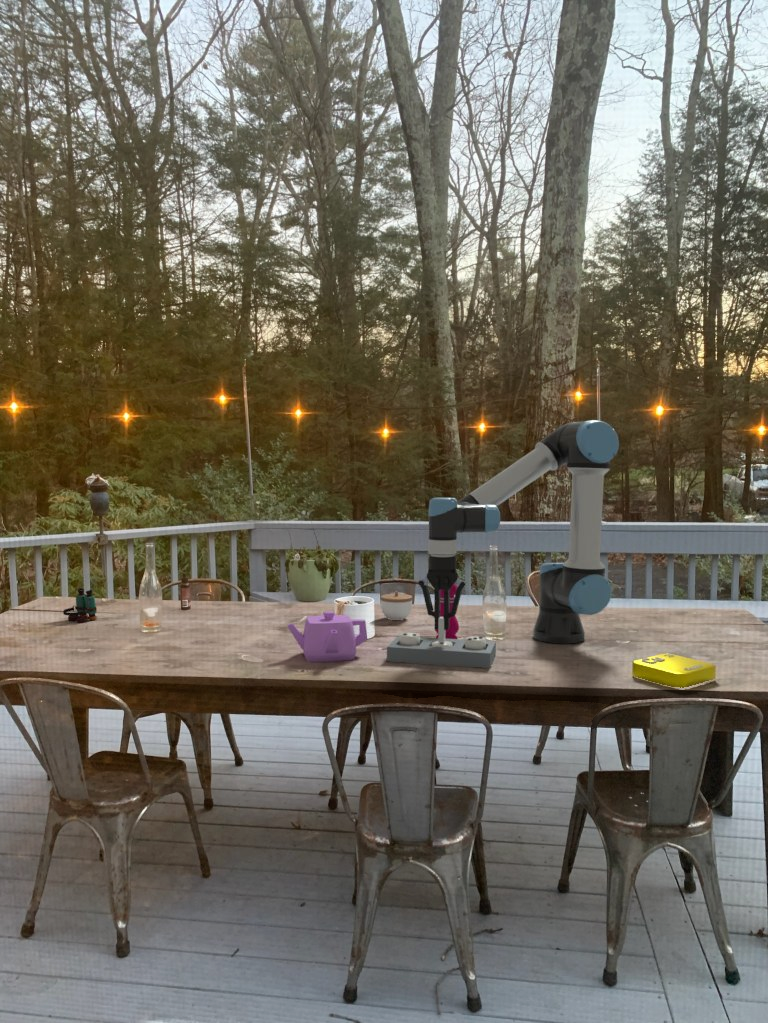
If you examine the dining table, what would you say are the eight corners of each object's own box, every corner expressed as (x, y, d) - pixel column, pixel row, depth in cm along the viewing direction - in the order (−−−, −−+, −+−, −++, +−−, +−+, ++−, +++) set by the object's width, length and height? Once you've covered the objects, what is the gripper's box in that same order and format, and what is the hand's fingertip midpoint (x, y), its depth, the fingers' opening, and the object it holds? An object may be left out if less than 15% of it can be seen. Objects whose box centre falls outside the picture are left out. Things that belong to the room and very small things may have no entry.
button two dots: (421, 645, 211) (421, 632, 211) (417, 650, 206) (417, 636, 205) (402, 644, 212) (402, 631, 212) (397, 649, 207) (397, 635, 207)
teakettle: (371, 653, 213) (371, 610, 212) (334, 667, 199) (333, 620, 198) (323, 645, 222) (323, 603, 221) (285, 658, 208) (284, 613, 207)
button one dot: (453, 654, 209) (454, 640, 209) (450, 659, 204) (450, 645, 203) (433, 652, 210) (433, 639, 210) (430, 657, 205) (430, 644, 205)
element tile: (682, 693, 178) (682, 673, 178) (628, 678, 190) (628, 659, 190) (718, 682, 186) (719, 663, 186) (665, 668, 199) (665, 650, 198)
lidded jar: (414, 616, 262) (415, 589, 262) (408, 623, 252) (408, 594, 251) (384, 615, 265) (384, 588, 264) (377, 621, 254) (377, 593, 254)
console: (495, 655, 210) (495, 641, 210) (490, 668, 197) (490, 653, 197) (398, 649, 217) (398, 635, 216) (386, 661, 204) (386, 646, 204)
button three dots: (486, 649, 207) (487, 635, 206) (484, 654, 201) (484, 640, 201) (466, 648, 208) (466, 634, 208) (463, 653, 203) (463, 639, 202)
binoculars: (56, 593, 253) (82, 586, 261) (60, 624, 254) (86, 615, 263) (73, 596, 248) (99, 588, 256) (77, 627, 250) (103, 618, 258)
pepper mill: (457, 645, 222) (457, 577, 220) (432, 644, 223) (433, 576, 222) (460, 639, 229) (460, 573, 227) (436, 638, 230) (436, 572, 229)
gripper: (468, 554, 207) (467, 639, 209) (421, 552, 210) (421, 636, 212) (464, 557, 200) (463, 646, 201) (415, 555, 203) (415, 643, 205)
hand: (441, 641), depth 207 cm, fingers closed
